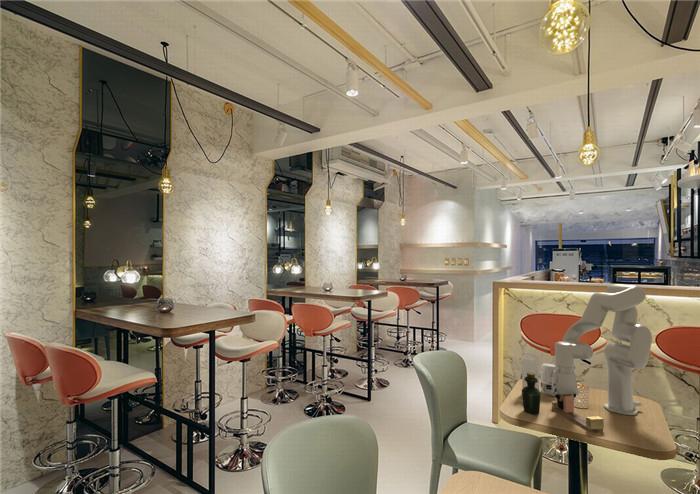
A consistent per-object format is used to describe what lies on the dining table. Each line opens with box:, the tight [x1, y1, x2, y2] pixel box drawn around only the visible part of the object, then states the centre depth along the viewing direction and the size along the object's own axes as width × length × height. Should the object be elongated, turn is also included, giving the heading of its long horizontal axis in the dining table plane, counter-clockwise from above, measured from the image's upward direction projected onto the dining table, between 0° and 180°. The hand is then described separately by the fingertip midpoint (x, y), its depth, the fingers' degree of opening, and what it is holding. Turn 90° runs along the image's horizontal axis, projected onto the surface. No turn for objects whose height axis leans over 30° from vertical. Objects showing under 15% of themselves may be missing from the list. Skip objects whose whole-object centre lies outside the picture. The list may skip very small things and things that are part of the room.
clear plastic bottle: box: [521, 351, 540, 390], centre depth 189 cm, size 6×6×22 cm
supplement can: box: [540, 362, 557, 396], centre depth 190 cm, size 8×8×15 cm
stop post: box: [585, 415, 605, 430], centre depth 148 cm, size 6×2×4 cm, turn 97°
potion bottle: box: [521, 372, 542, 416], centre depth 166 cm, size 8×8×18 cm
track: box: [551, 400, 604, 433], centre depth 159 cm, size 6×23×4 cm, turn 7°
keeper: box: [557, 394, 575, 413], centre depth 165 cm, size 4×6×7 cm, turn 7°
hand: (565, 408), depth 165 cm, fingers closed on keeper, 4 cm apart
